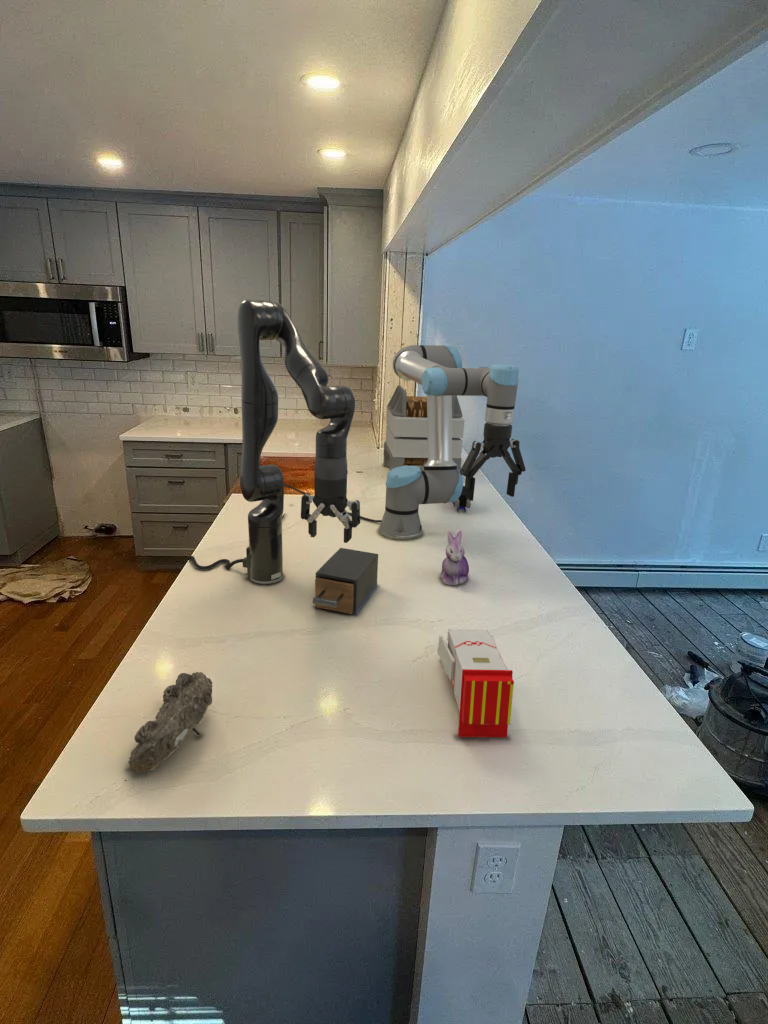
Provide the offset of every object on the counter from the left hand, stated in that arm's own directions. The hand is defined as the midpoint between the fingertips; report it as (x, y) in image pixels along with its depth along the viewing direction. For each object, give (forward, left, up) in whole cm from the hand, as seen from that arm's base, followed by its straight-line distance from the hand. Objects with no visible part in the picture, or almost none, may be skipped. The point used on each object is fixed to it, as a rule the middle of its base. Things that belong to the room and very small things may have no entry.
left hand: (330, 539), depth 136 cm
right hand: (+31, +41, +3) cm, 51 cm away
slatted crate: (-20, +141, -22) cm, 144 cm away
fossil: (-7, -47, -22) cm, 53 cm away
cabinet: (-1, +13, -22) cm, 26 cm away
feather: (-47, +59, -22) cm, 79 cm away
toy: (+39, -14, -22) cm, 47 cm away
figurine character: (+10, +100, -22) cm, 103 cm away
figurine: (+24, +36, -22) cm, 48 cm away
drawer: (-1, +8, -21) cm, 23 cm away
